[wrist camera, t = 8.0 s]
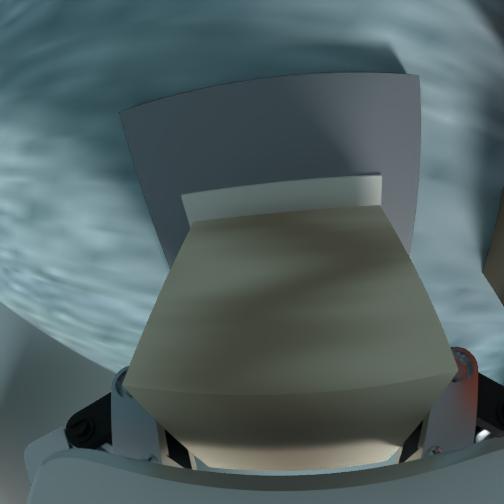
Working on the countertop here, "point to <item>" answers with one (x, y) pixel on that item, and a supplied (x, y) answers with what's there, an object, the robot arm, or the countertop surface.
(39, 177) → the countertop surface
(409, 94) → the board
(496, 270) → the walnut cube
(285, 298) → the maple cube
